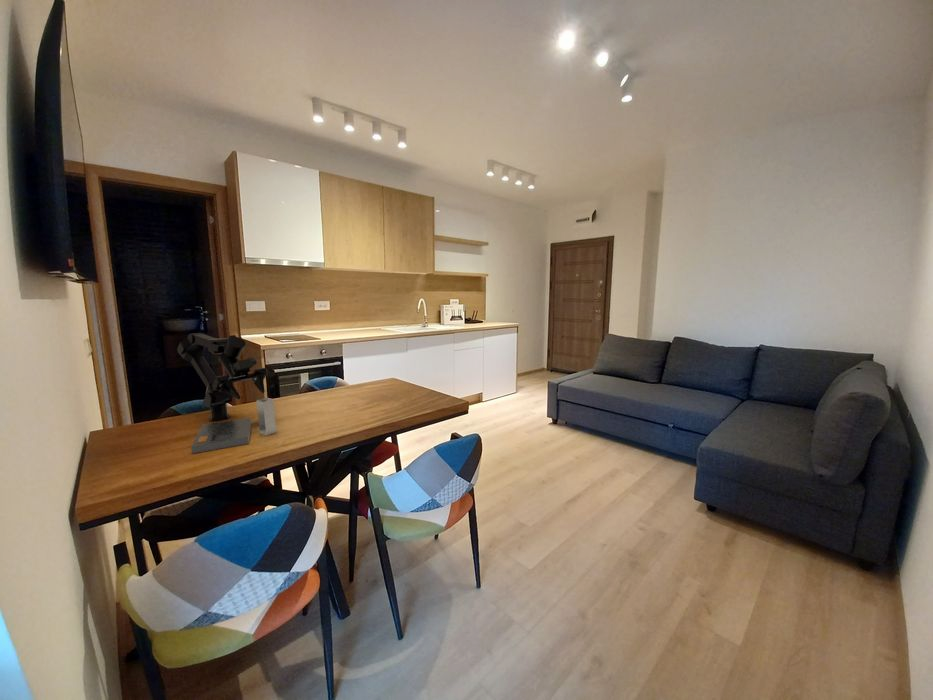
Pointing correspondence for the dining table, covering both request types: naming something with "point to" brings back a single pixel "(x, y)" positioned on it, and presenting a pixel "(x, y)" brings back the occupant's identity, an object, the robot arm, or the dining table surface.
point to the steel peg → (266, 416)
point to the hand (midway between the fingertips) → (252, 395)
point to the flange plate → (222, 435)
